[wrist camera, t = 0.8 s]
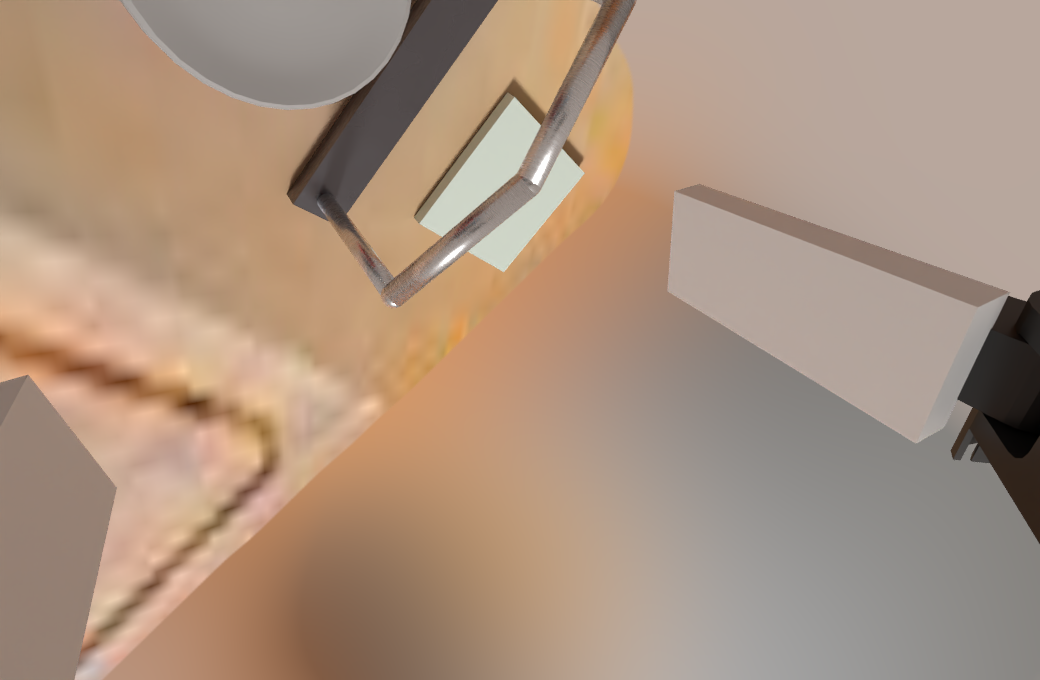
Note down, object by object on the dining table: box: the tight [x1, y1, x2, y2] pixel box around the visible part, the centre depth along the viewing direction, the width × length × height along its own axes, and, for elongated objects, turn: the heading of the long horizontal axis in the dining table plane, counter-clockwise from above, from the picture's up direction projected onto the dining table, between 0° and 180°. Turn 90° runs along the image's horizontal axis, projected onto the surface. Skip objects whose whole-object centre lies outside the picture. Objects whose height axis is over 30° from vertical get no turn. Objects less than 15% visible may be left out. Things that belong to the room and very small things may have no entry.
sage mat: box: [414, 92, 585, 272], centre depth 38 cm, size 10×10×1 cm
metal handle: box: [287, 0, 636, 308], centre depth 25 cm, size 3×18×13 cm, turn 130°
